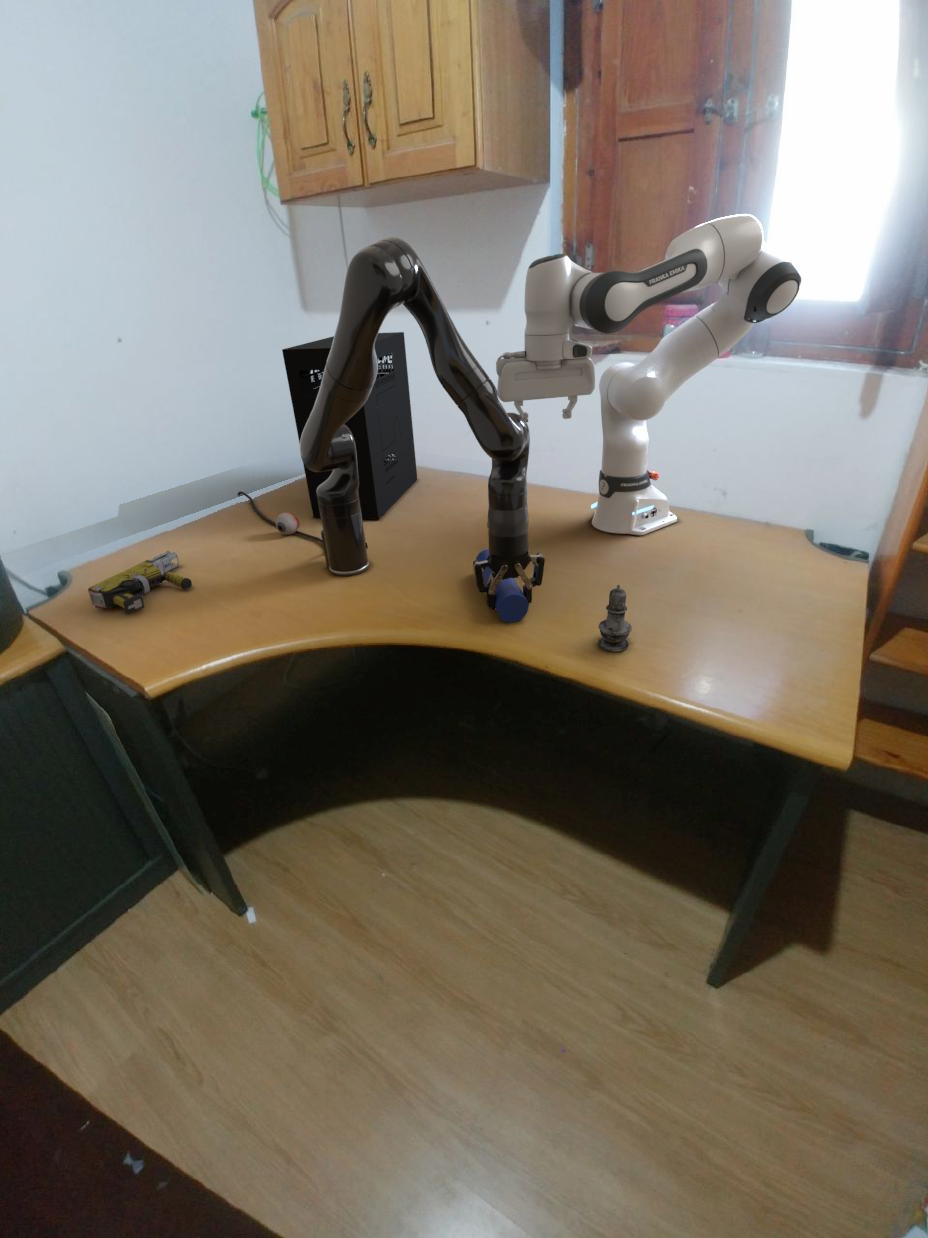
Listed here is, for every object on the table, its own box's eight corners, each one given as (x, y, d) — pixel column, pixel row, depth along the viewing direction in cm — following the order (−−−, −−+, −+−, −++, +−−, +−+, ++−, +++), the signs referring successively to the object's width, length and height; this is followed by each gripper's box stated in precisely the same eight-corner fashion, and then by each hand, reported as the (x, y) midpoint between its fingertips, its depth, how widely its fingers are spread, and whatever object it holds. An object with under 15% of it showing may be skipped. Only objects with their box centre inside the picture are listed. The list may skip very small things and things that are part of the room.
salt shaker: (630, 653, 106) (637, 593, 100) (596, 651, 107) (601, 591, 101) (629, 636, 111) (635, 577, 105) (597, 634, 112) (601, 576, 106)
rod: (476, 574, 137) (474, 549, 134) (502, 571, 138) (501, 546, 135) (498, 624, 118) (497, 596, 115) (528, 620, 118) (528, 592, 115)
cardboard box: (378, 519, 171) (356, 347, 149) (313, 517, 176) (282, 349, 153) (417, 479, 203) (403, 331, 180) (361, 478, 207) (341, 334, 185)
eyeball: (273, 537, 164) (268, 516, 161) (287, 528, 169) (282, 508, 166) (291, 539, 161) (286, 518, 158) (305, 530, 166) (301, 510, 163)
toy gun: (215, 559, 144) (165, 548, 148) (137, 602, 124) (81, 588, 128) (218, 577, 147) (168, 566, 151) (142, 621, 127) (87, 607, 131)
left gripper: (473, 539, 107) (477, 620, 116) (551, 530, 109) (549, 610, 118) (466, 524, 114) (470, 602, 122) (540, 516, 116) (539, 593, 124)
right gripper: (499, 354, 117) (500, 427, 124) (600, 346, 120) (596, 418, 126) (492, 351, 122) (494, 421, 129) (589, 343, 125) (585, 413, 132)
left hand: (509, 606), depth 120 cm, fingers closed on rod, 6 cm apart
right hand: (545, 420), depth 128 cm, fingers open, 8 cm apart
